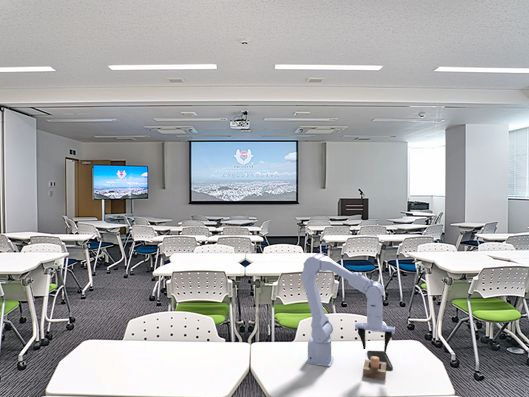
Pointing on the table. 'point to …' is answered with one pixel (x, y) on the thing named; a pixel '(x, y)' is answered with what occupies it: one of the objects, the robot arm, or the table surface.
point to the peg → (375, 362)
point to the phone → (381, 358)
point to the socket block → (374, 370)
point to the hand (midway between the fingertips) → (374, 349)
